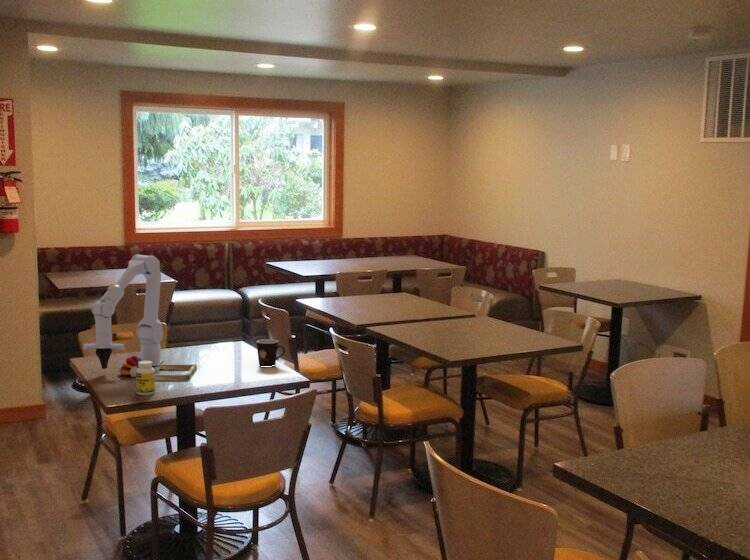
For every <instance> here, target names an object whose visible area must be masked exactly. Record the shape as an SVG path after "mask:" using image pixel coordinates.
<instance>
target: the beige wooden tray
mask: <svg viewBox="0 0 750 560" xmlns="http://www.w3.org/2000/svg"><path fill="white" fill-rule="evenodd" d="M197 365H198V364H197V363H187V364H186V363H161V364H159V366H158V369H159V371H161V370H160V369H168V370H167V371H170V370H169V369H174V370H173V371H187V373H185V374H182V373H181V374H178V373H175V374H174V373H173V374H172V373H171V374H169V373H167V374H166V373H165V374H164V373H163V374H160V373H157V374H156V373H155V381H182V380H189V381H190V379H191V378H192V377H193V375H194V374H195V372H196V371H197ZM191 376H192V377H191Z"/></svg>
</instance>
